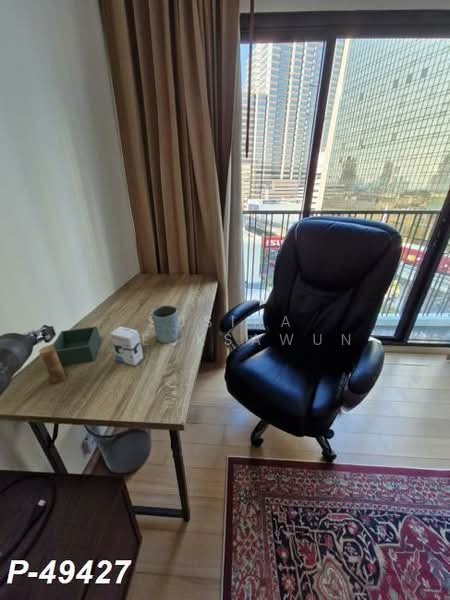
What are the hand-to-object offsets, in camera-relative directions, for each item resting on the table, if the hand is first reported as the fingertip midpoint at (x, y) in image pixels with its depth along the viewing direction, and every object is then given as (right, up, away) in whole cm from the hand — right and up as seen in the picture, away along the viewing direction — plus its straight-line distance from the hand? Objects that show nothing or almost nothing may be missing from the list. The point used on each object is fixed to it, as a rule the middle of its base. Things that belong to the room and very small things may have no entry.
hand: (28, 333), depth 67 cm
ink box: (+19, -13, +23) cm, 32 cm away
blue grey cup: (+29, -6, +36) cm, 47 cm away
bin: (-2, -11, +27) cm, 29 cm away
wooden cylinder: (-2, -17, +15) cm, 23 cm away
